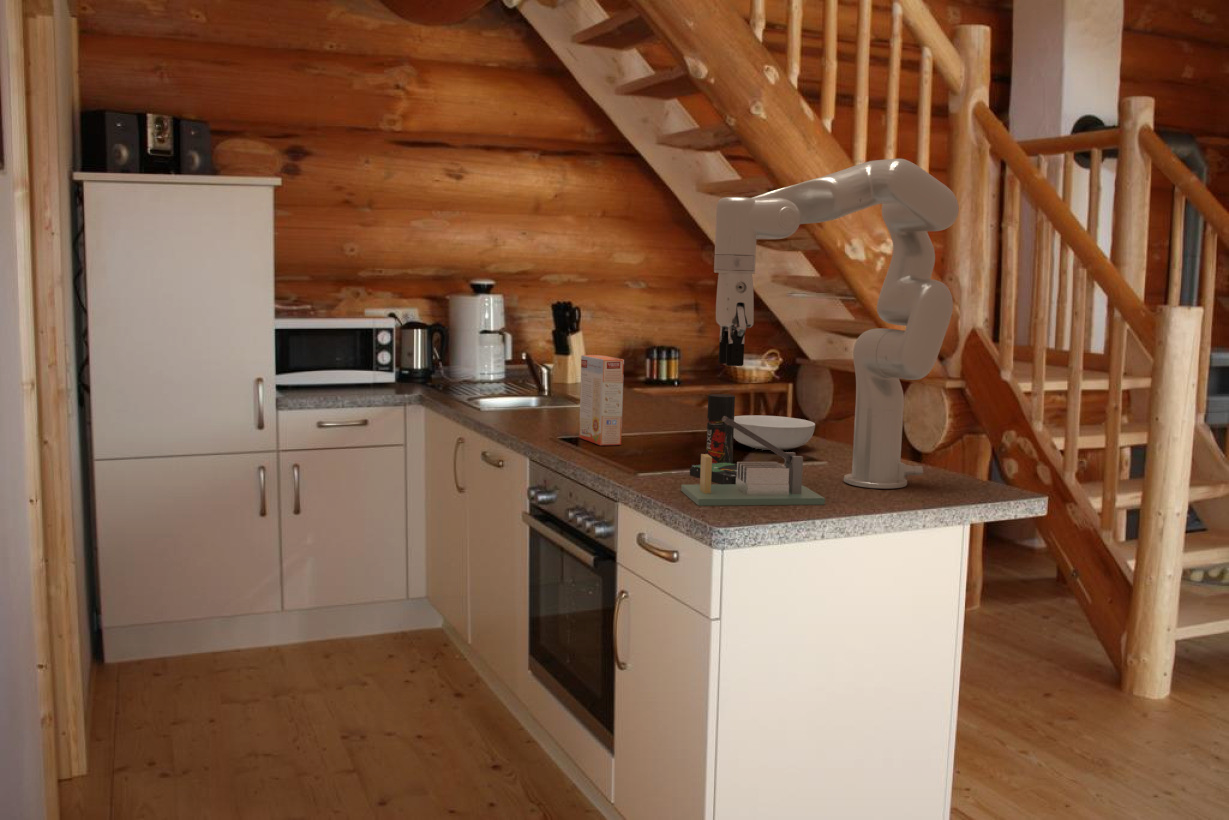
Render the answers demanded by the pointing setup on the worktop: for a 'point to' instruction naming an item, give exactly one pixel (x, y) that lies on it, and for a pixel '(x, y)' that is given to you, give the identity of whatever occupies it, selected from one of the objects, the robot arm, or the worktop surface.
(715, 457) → the deodorant
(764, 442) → the strap
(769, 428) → the serving bowl
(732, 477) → the disk drive
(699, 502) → the board
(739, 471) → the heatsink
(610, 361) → the cracker box
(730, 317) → the robot arm
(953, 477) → the worktop surface
